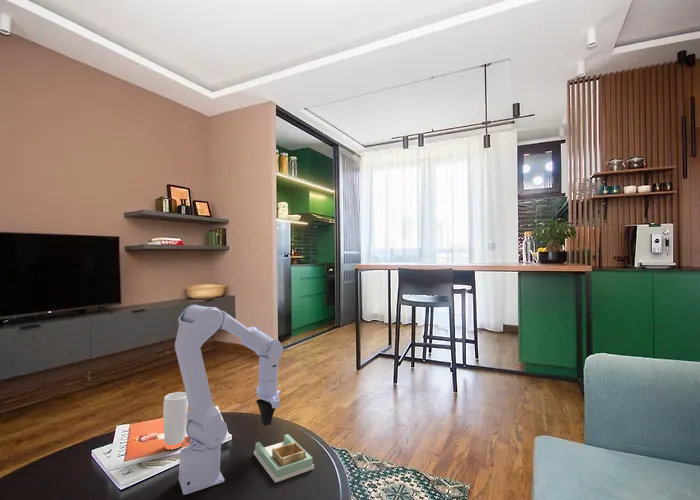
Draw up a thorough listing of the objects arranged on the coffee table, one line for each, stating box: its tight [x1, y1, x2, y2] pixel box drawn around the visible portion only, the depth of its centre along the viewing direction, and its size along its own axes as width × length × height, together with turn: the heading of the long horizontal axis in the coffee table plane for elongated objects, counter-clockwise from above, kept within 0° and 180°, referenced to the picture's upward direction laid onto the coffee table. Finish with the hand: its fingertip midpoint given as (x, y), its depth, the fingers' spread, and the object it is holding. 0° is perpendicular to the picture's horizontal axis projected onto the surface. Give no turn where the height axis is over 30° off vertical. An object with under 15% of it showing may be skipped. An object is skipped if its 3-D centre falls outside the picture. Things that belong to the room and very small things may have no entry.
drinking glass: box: [162, 391, 189, 445], centre depth 103 cm, size 7×7×15 cm
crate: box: [272, 441, 306, 466], centre depth 93 cm, size 7×6×4 cm
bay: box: [253, 433, 315, 483], centre depth 96 cm, size 11×16×3 cm
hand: (266, 424), depth 103 cm, fingers closed
